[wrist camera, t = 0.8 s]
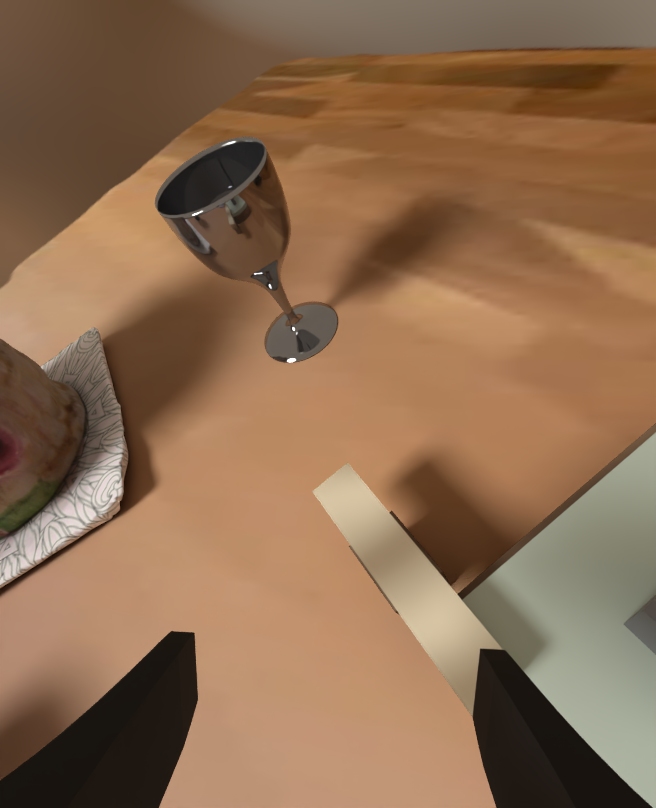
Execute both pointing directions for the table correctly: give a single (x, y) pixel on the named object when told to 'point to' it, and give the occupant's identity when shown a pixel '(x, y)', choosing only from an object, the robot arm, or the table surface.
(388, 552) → the beige rectangular bar
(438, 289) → the table surface
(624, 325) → the table surface
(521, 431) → the table surface
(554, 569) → the lid
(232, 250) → the silver goblet
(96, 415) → the cookie jar
